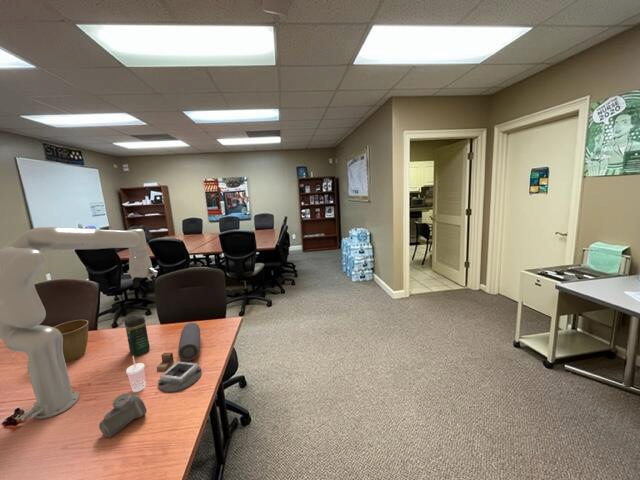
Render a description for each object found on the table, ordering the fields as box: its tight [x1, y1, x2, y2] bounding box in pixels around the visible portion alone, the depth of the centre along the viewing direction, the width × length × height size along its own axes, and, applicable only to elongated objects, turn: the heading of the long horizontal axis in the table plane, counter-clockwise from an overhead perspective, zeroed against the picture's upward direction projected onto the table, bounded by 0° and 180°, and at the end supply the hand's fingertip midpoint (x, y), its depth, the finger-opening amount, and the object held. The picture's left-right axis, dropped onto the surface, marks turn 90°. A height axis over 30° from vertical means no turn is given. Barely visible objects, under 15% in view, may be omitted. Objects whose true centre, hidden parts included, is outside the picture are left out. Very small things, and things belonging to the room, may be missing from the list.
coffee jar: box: [124, 313, 151, 357], centre depth 137 cm, size 10×8×19 cm
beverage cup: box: [125, 355, 147, 393], centre depth 110 cm, size 6×6×14 cm
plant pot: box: [52, 319, 89, 362], centre depth 135 cm, size 15×15×16 cm
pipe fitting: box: [98, 392, 148, 438], centre depth 93 cm, size 12×8×10 cm
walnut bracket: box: [156, 352, 175, 372], centre depth 124 cm, size 6×4×5 cm, turn 176°
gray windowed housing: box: [157, 360, 202, 393], centre depth 115 cm, size 16×16×4 cm
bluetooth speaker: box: [177, 322, 202, 362], centre depth 136 cm, size 23×9×10 cm, turn 22°
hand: (144, 287), depth 140 cm, fingers open, 9 cm apart
